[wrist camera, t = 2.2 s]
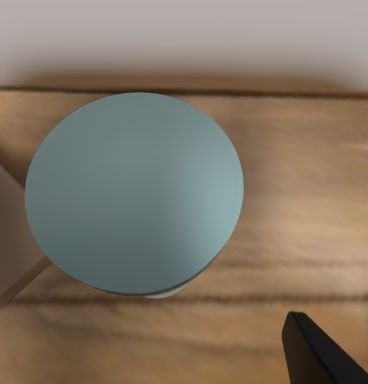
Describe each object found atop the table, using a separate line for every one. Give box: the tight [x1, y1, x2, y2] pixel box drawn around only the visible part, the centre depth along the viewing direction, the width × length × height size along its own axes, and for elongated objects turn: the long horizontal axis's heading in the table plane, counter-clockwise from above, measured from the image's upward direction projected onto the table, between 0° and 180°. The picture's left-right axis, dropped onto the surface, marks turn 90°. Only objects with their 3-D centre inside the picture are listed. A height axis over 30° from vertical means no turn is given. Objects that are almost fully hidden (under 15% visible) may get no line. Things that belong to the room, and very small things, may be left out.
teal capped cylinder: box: [24, 92, 244, 298], centre depth 12 cm, size 5×5×13 cm
